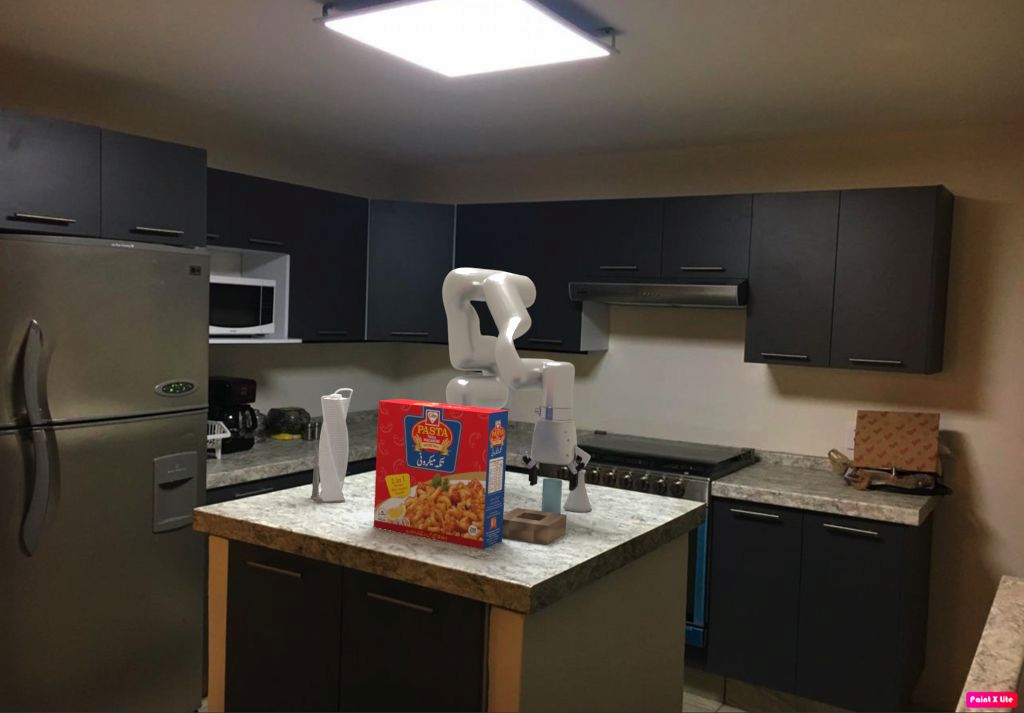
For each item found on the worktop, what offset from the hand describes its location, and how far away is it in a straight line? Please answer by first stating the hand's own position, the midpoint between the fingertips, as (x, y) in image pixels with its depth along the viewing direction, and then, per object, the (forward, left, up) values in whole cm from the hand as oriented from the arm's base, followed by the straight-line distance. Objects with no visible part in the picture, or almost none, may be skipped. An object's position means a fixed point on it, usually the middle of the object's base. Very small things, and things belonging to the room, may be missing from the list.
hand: (552, 487), depth 198 cm
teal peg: (0, 0, -8) cm, 8 cm away
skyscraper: (-55, -9, -8) cm, 56 cm away
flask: (+1, +17, -9) cm, 19 cm away
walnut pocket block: (0, -13, -8) cm, 15 cm away
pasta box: (-18, -24, -9) cm, 31 cm away
